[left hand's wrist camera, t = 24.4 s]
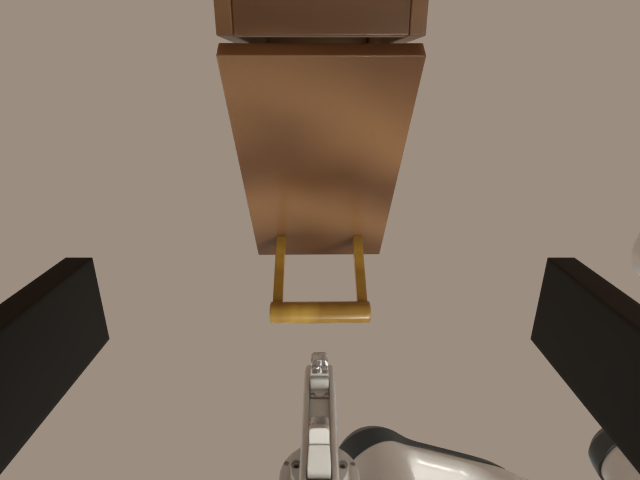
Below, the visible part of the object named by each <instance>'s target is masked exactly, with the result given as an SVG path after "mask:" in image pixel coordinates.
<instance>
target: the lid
mask: <svg viewBox="0 0 640 480" xmlns="http://www.w3.org/2000/svg"><path fill="white" fill-rule="evenodd" d="M216 57H217V61H218V66H219V71H220V75H221V80H222V85H223V89H224V94H225V99H226V103H227V108H228V113H229V117H230V122H231V127H232V132H233V136H234V141H235V145H236V150H237V155H238V160H239V164H240V169H241V174H242V178H243V183H244V187H245V192H246V197H247V202H248V207H249V211H250V216H251V220H252V225H253V230H254V235H255V239H256V244H257V249H258V253H259V255H276V257H275V275H274V293H273V302H271V304H270V322H271V323H369V322H370V319H371V308H370V303H369V302H368V301H367V293H366V280H365V268H364V256H363V254H379V252H380V248H381V244H382V240H383V235H384V231H385V227H386V223H387V219H388V214H389V210H390V206H391V202H392V198H393V193H394V189H395V185H396V180H397V176H398V172H399V168H400V164H401V159H402V155H403V151H404V147H405V143H406V138H407V134H408V130H409V125H410V121H411V117H412V113H413V108H414V104H415V100H416V96H417V92H418V88H419V83H420V79H421V75H422V71H423V66H424V62H425V58H426V54H425V50H424V46H423V44H422V43H219V45H218V50H217V55H216ZM291 254H353V256H354V271H355V286H356V301H341V302H340V301H338V302H284V277H285V255H291Z"/></svg>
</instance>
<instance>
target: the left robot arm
mask: <svg viewBox="0 0 640 480" xmlns="http://www.w3.org/2000/svg"><path fill="white" fill-rule="evenodd" d="M108 340H109V335H108V330H107V326H106V321H105V316H104V311H103V306H102V302H101V297H100V292H99V287H98V283H97V278H96V273H95V268H94V264H93V259H92V258H65V259H63V260H62V261H60V262H59V263H58V264H56V265H55V266H53V267H52V268H50V269H49V270H48V271H46V272H45V273H43V274H42V275H41V276H39V277H38V278H36V279H35V280H34V281H32V282H31V283H29V284H28V285H27V286H25V287H24V288H22V289H21V290H19V291H18V292H17V293H15V294H14V295H12V296H11V297H10V298H8V299H7V300H5V301H4V302H2V303H1V304H0V474H1V473H2V472H3V470H4V469H5V468H6V467H7V465H8V464H9V463H10V462H11V460H12V459H13V458H14V457H15V456H16V454H17V453H18V452H19V451H20V449H21V448H22V447H23V445H24V444H25V443H26V442H27V441H28V439H29V438H30V437H31V436H32V434H33V433H34V432H35V431H36V429H37V428H38V427H39V426H40V424H41V423H42V422H43V421H44V420H45V418H46V417H47V416H48V415H49V413H50V412H51V411H52V410H53V408H54V407H55V406H56V405H57V403H58V402H59V401H60V400H61V398H62V397H63V396H64V395H65V393H66V392H67V391H68V390H69V388H70V387H71V386H72V385H73V383H74V382H75V381H76V380H77V379H78V377H79V376H80V375H81V374H82V372H83V371H84V370H85V369H86V367H87V366H88V365H89V364H90V362H91V361H92V360H93V359H94V357H95V356H96V355H97V354H98V352H99V351H100V350H101V349H102V347H103V346H104V345H105V344H106V343H107V341H108ZM531 340H532V341H533V343H534V344H535V345H536V346H537V347H538V349H539V350H540V351H541V352H542V354H543V355H544V356H545V357H546V359H547V360H548V361H549V362H550V364H551V365H552V366H553V367H554V369H555V370H556V371H557V372H558V374H559V375H560V376H561V377H562V379H563V380H564V381H565V382H566V383H567V385H568V386H569V387H570V388H571V390H572V391H573V392H574V393H575V395H576V396H577V397H578V398H579V400H580V401H581V402H582V403H583V405H584V406H585V407H586V408H587V409H588V411H589V412H590V413H591V414H592V416H593V417H594V418H595V420H596V421H597V422H598V423H599V424H600V426H601V427H602V428H603V429H604V431H605V432H606V433H607V434H608V436H609V437H610V438H611V439H612V441H613V442H614V443H615V444H616V446H617V447H618V448H619V449H620V451H621V452H622V453H623V454H624V456H625V457H626V458H627V459H628V460H629V462H630V463H631V464H632V465H633V467H634V468H635V469H636V470H637V472H638V473H639V474H640V304H639V303H637V302H636V301H635V300H633V299H632V298H630V297H629V296H628V295H626V294H625V293H623V292H622V291H621V290H619V289H618V288H616V287H615V286H614V285H612V284H611V283H609V282H608V281H606V280H605V279H604V278H602V277H601V276H599V275H598V274H597V273H595V272H594V271H592V270H591V269H590V268H588V267H587V266H585V265H584V264H583V263H581V262H580V261H578V260H577V259H575V258H548V259H547V264H546V268H545V274H544V278H543V283H542V287H541V292H540V297H539V302H538V307H537V311H536V316H535V321H534V325H533V330H532V335H531Z"/></svg>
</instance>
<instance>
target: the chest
mask: <svg viewBox="0 0 640 480" xmlns="http://www.w3.org/2000/svg"><path fill="white" fill-rule="evenodd" d="M214 10H215V23H216V34H217V36H220V37H222V38H224V39H227V40H229V41H231V42H234V43H407V42H409V41H412V40H415V39H418V38H420V37H423V36H425V35H426V24H427V12H428V0H214Z"/></svg>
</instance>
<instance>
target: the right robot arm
mask: <svg viewBox="0 0 640 480" xmlns="http://www.w3.org/2000/svg"><path fill="white" fill-rule="evenodd" d="M632 265H633V268H634V270H635V272H636V273H637V274H638V275H639V276H640V234H639V235H638V237H637V238H636V240H635V243H634V245H633V249H632ZM589 457H590V460H591V462H592V464H593V466H594V468H595V470H596V472H597V473H598V475H599V476H600V478H601V479H602V480H640V474H639V473H638V472H637V470H636V469H635V468H634V467H633V465H632V464H631V463H630V462H629V460H628V459H627V458H626V457H625V456H624V454H623V453H622V452H621V451H620V449H619V448H618V447H617V446H616V444H615V443H614V442H613V441H612V439H611V438H610V437H609V436H608V434H607V433H606V432H605V431H604V429H603V428H602V429H601V430H599V431H598V432H597V433H596V435H595V436H594V437H593V439H592V441H591V444H590V447H589ZM279 480H527V479H524V478H522V477H520V476H518V475H515V474H513V473H511V472H509V471H507V470H505V469H504V468H502V467H500V466H498V465H496V464H494V463H492V462H490V461H487V460H484V459H481V458H478V457H474V456H471V455H467V454H463V453H459V452H455V451H451V450H447V449H444V448H440V447H436V446H432V445H428V444H424V443H420V442H416V441H413V440H410V439H408V438H405V437H403V436H402V435H400V434H398V433H396V432H395V431H393V430H390V429H387V428H384V427H379V426H367V427H362V428H360V429H357V430H355V431H354V432H352V433H351V434H350V435H349V436H348V437H347V438H346V439H345V440H344V441H343V442H342V444H341V445H340V447H338V437H337V415H336V394H335V373H334V368H333V366H331V365H328V355H327V354H326V353H325V352H314V353H313V354H312V355H311V365H308V366H307V367H306V369H305V378H304V397H303V416H302V434H301V448H299V449H298V450H296V451H295V452H293V453H292V454H291V455H290V456H289V457H288V458H287V459H286V461H285V462H284V464H283V466H282V468H281V471H280V476H279Z"/></svg>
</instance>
